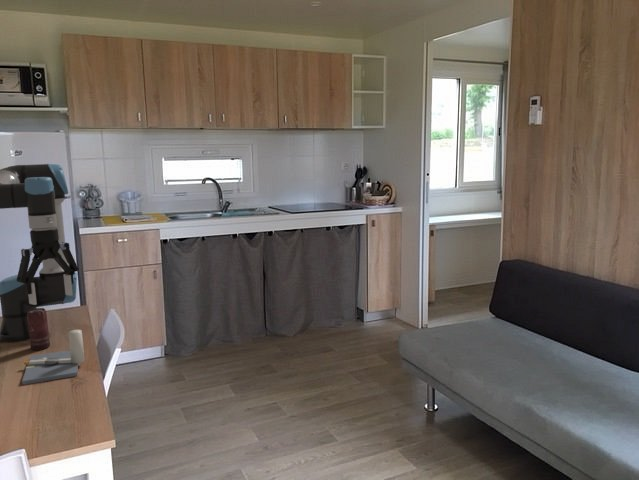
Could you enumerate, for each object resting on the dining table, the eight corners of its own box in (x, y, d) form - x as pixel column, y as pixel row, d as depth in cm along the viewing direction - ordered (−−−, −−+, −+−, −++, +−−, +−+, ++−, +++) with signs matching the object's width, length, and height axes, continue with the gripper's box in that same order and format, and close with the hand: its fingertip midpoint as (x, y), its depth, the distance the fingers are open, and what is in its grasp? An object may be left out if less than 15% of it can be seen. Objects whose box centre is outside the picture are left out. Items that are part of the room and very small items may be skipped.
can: (42, 351, 186) (38, 312, 184) (27, 350, 187) (22, 312, 185) (54, 345, 192) (50, 307, 190) (39, 344, 193) (35, 307, 191)
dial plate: (30, 359, 179) (29, 355, 179) (79, 352, 184) (79, 348, 184) (21, 385, 159) (21, 380, 158) (77, 375, 164) (76, 372, 164)
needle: (21, 366, 169) (17, 336, 167) (28, 361, 173) (24, 331, 171) (81, 363, 170) (78, 333, 168) (86, 358, 174) (83, 329, 172)
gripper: (10, 235, 148) (19, 310, 151) (86, 224, 167) (92, 292, 171) (-4, 233, 152) (6, 307, 155) (72, 223, 171) (79, 289, 175)
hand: (51, 299), depth 163 cm, fingers open, 11 cm apart
